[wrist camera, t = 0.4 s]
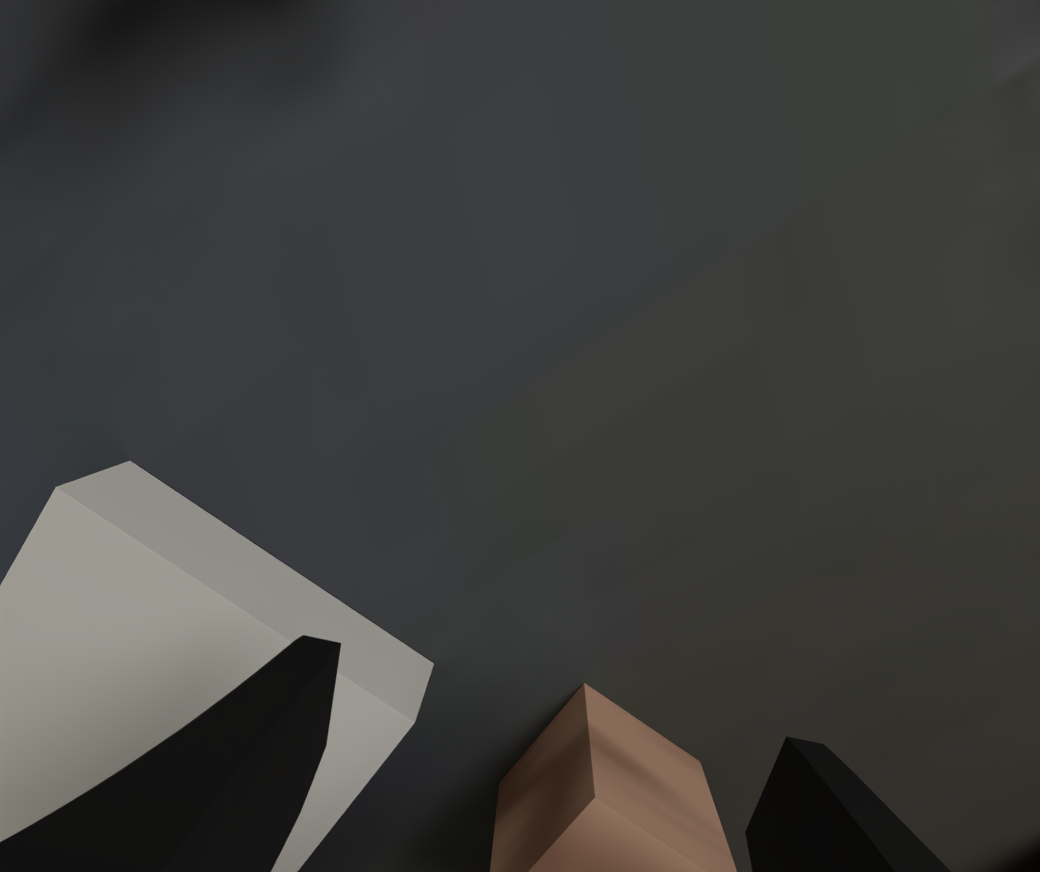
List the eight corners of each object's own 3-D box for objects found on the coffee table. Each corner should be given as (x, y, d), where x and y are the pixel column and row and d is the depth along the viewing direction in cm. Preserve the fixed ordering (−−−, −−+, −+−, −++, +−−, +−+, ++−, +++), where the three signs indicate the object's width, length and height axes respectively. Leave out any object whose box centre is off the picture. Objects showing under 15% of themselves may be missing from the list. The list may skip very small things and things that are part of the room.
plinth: (257, 890, 23) (214, 976, 20) (-22, 719, 22) (-111, 782, 19) (434, 663, 21) (414, 722, 18) (130, 460, 20) (56, 487, 17)
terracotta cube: (611, 854, 22) (629, 1010, 17) (499, 781, 21) (484, 919, 17) (699, 760, 21) (745, 897, 16) (583, 681, 21) (595, 797, 16)
